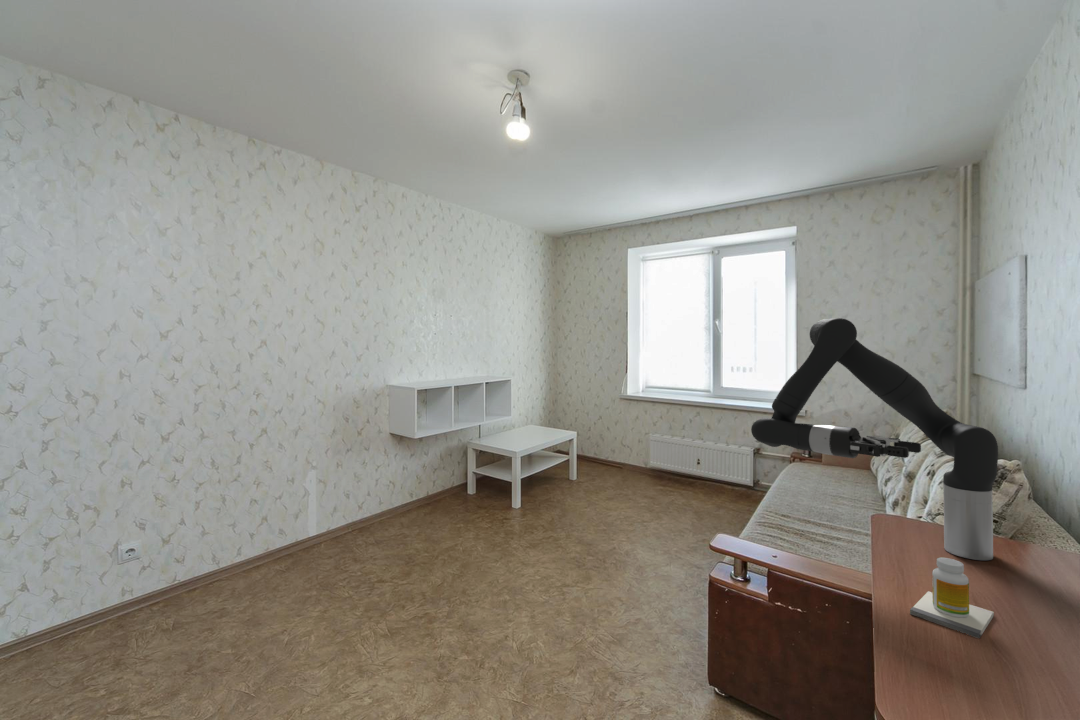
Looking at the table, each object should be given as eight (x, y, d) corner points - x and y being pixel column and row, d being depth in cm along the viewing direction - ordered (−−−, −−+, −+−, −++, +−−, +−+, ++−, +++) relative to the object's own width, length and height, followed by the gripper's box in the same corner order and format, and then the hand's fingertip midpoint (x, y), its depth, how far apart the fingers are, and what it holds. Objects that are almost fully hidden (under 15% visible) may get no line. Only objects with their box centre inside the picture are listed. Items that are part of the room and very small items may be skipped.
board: (928, 594, 97) (928, 590, 97) (993, 615, 89) (993, 611, 89) (910, 614, 90) (910, 609, 90) (979, 638, 82) (979, 633, 82)
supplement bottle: (976, 619, 86) (976, 568, 86) (943, 616, 87) (943, 566, 87) (957, 604, 92) (956, 556, 92) (926, 602, 93) (925, 554, 93)
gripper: (821, 428, 111) (903, 437, 98) (845, 423, 119) (924, 430, 106) (822, 459, 111) (904, 472, 98) (845, 451, 119) (924, 462, 106)
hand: (914, 450), depth 102 cm, fingers open, 8 cm apart
